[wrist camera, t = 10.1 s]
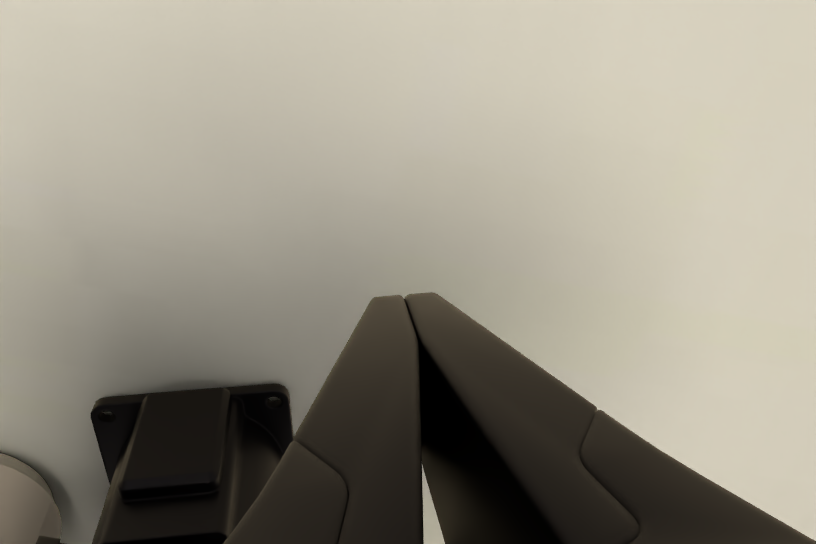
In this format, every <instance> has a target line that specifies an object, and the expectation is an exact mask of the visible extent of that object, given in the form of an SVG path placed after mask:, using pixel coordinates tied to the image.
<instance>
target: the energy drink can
mask: <svg viewBox="0 0 816 544" xmlns="http://www.w3.org/2000/svg"><path fill="white" fill-rule="evenodd" d="M61 530H62V520H61V516H60V512H59V510H58V508H57V506H56V504H55V502H54V500H53V497H52V493H51V490H50V488H49V487H48V485H47V483H46V482H45V480H44V479H43V478H42V477H41V476H40V475H39V474H38V473H37V472H36V471H35V470H33V469H32V468H31V467H29V466H28V465H27V464H25V463H23V462H21V461H19V460H17V459H16V458H13V457H10V456H8V455H5V454H2V453H0V544H36V542H37V540H38V538H39V536H46V537H52V538H58V539H60V536H61Z"/></svg>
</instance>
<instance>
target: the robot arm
mask: <svg viewBox="0 0 816 544" xmlns="http://www.w3.org/2000/svg"><path fill="white" fill-rule="evenodd" d="M270 397H278V398H280V399H279V400H277V401H271V400H270V399H269V398H270ZM103 411H110V412H112V413H113V414H112V415H108V414H105V413H103ZM91 420H92V424H93V427H94V431H95V434H96V438H97V441H98V445H99V448H100V452H101V455H102V459H103V462H104V466H105V469H106V473H107V476H108V480H109V483H110V488H109V491H108V494H107V497H106V500H105V504H104V507H103V510H102V513H101V516H100V519H99V523H98V526H97V529H96V532H95V535H94V538H93V542H92V544H424V542H423V497H422V465H423V468H424V472H425V476H426V480H427V483H428V486H429V490H430V493H431V497H432V500H433V503H434V507H435V510H436V514H437V517H438V520H439V524H440V527H441V531H442V534H443V537H444V541H445V544H816V541H814V540H813V539H811V538H809V537H807V536H805V535H804V534H802V533H800V532H798V531H797V530H795V529H793V528H792V527H790V526H788V525H786V524H785V523H783V522H781V521H779V520H778V519H776V518H774V517H773V516H771V515H769V514H767V513H766V512H764V511H762V510H760V509H759V508H757V507H755V506H753V505H752V504H750V503H748V502H747V501H745V500H743V499H741V498H740V497H738V496H736V495H734V494H733V493H731V492H729V491H728V490H726V489H724V488H722V487H721V486H719V485H717V484H715V483H714V482H712V481H710V480H709V479H707V478H705V477H703V476H702V475H700V474H698V473H697V472H695V471H693V470H692V469H690V468H688V467H687V466H685V465H684V464H682V463H680V462H679V461H677V460H675V459H674V458H672V457H670V456H669V455H667V454H665V453H664V452H662V451H660V450H659V449H657V448H656V447H654V446H653V445H651V444H650V443H648V442H647V441H645V440H644V439H642V438H641V437H639V436H638V435H636V434H635V433H633V432H632V431H630V430H629V429H627V428H626V427H624V426H623V425H622V424H620V423H619V422H617V421H616V420H614V419H613V418H612V417H610V416H609V415H607V414H606V413H605V412H603V411H602V410H598V411H597V408H596V406H594V405H593V404H592V403H590V402H589V401H587V400H586V399H584V398H583V397H582V396H580V395H579V394H577V393H576V392H575V391H573V390H572V389H570V388H569V387H568V386H566V385H565V384H563V383H562V382H561V381H559V380H558V379H556V378H555V377H553V376H552V375H551V374H549V373H548V372H546V371H545V370H544V369H542V368H541V367H539V366H538V365H537V364H535V363H534V362H532V361H531V360H529V359H528V358H527V357H525V356H524V355H522V354H521V353H520V352H518V351H517V350H515V349H514V348H513V347H511V346H510V345H508V344H507V343H506V342H504V341H503V340H501V339H500V338H498V337H497V336H496V335H494V334H493V333H491V332H490V331H489V330H487V329H486V328H484V327H483V326H482V325H480V324H479V323H477V322H476V321H474V320H473V319H472V318H470V317H469V316H467V315H466V314H465V313H463V312H462V311H460V310H459V309H458V308H456V307H455V306H453V305H452V304H451V303H449V302H448V301H446V300H445V299H443V298H442V297H441V296H439V295H438V294H436V293H432V292H431V293H418V294H409V295H407V296H406V297H405V299H404V298H403V297H402V296H400V295H394V296H381V297H374V298H373V299H372V300H371V301H370V303H369V305H368V306H367V308H366V310H365V312H364V313H363V315H362V317H361V319H360V321H359V322H358V324H357V326H356V328H355V329H354V331H353V333H352V335H351V337H350V338H349V340H348V342H347V344H346V345H345V347H344V349H343V351H342V352H341V354H340V356H339V358H338V360H337V361H336V363H335V365H334V367H333V368H332V370H331V372H330V374H329V376H328V377H327V379H326V381H325V383H324V384H323V386H322V388H321V390H320V392H319V393H318V395H317V397H316V399H315V400H314V402H313V404H312V406H311V407H310V409H309V411H308V413H307V415H306V416H305V418H304V420H303V422H302V423H301V425H300V427H299V429H298V431H297V432H296V434H295V436H293V426H292V417H291V407H290V398H289V392H288V390H287V389H286V388H285V387H284V386H282V385H280V384H263V385H251V386H238V387H226V388H211V389H198V390H186V391H174V392H161V393H151V394H140V395H127V396H115V397H105V398H101V399H99V400H98V401H96V403H95V405H94V407H93V409H92V412H91ZM59 542H60V539H58V538H52V537H46V536H39V538H38V540H37V542H36V544H65V543H59Z"/></svg>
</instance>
